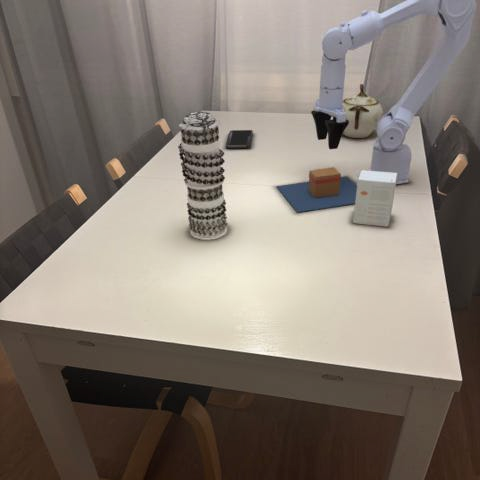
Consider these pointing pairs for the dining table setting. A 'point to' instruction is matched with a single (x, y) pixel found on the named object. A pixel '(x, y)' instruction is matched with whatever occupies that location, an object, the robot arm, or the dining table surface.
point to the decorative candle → (203, 175)
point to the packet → (324, 182)
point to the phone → (239, 139)
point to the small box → (374, 198)
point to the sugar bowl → (361, 114)
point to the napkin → (306, 202)
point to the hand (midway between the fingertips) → (327, 143)
